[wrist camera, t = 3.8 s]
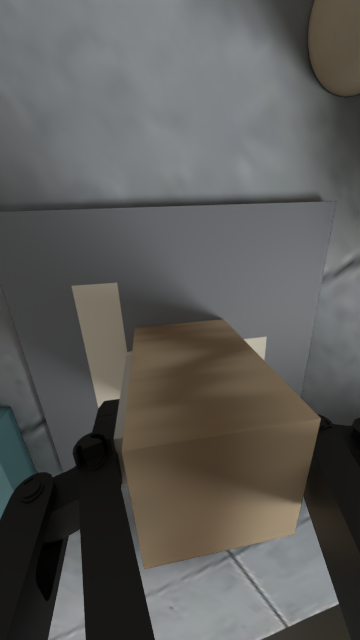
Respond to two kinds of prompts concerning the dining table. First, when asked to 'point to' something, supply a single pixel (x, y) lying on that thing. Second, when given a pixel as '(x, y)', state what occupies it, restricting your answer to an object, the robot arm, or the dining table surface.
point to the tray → (12, 457)
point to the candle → (336, 45)
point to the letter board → (155, 291)
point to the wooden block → (211, 443)
